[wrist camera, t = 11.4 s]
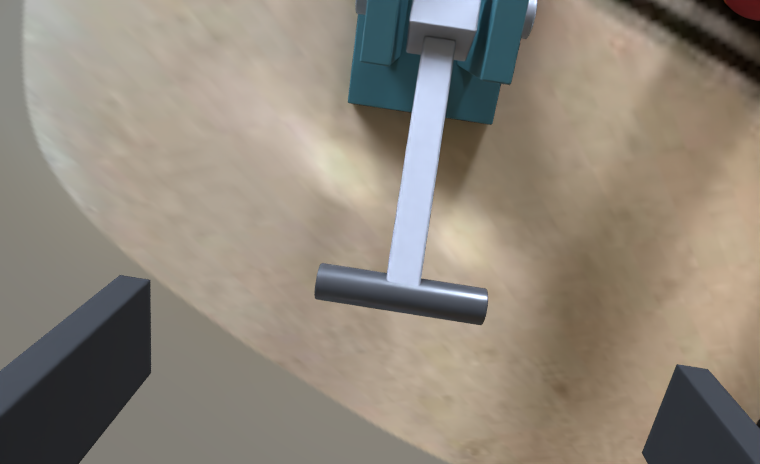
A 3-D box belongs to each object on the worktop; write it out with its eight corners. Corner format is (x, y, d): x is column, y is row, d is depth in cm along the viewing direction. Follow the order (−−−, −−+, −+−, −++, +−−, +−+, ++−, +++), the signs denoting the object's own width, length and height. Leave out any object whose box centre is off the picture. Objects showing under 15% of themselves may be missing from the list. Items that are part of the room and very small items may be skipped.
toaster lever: (475, 322, 19) (488, 328, 16) (319, 297, 19) (310, 300, 16) (520, -4, 20) (539, -43, 17) (372, -26, 20) (371, -68, 18)
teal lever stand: (489, 121, 31) (536, 175, 19) (350, 100, 31) (306, 139, 19) (531, -77, 27) (621, -170, 15) (374, -100, 27) (339, -211, 15)
